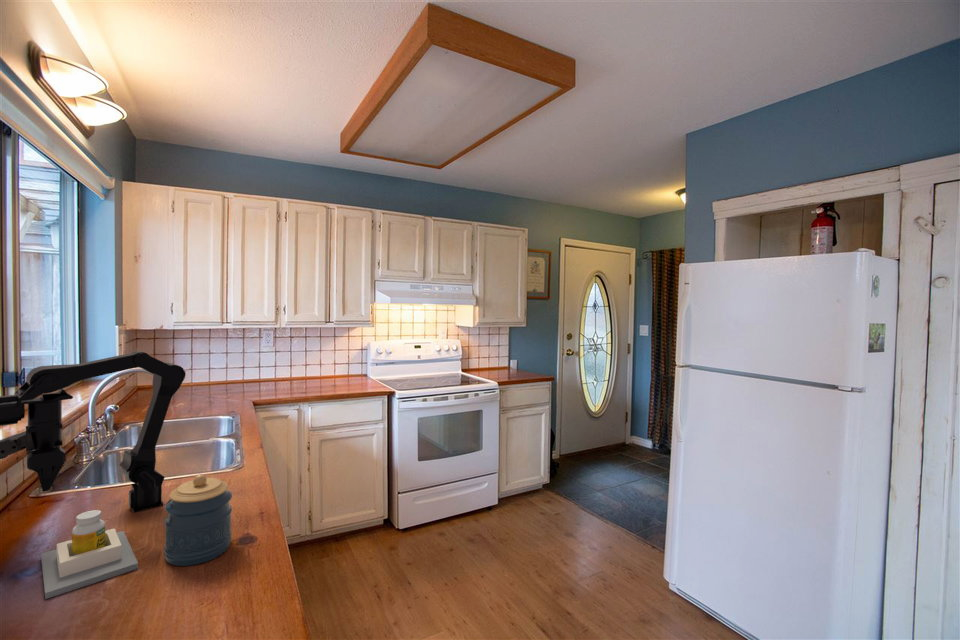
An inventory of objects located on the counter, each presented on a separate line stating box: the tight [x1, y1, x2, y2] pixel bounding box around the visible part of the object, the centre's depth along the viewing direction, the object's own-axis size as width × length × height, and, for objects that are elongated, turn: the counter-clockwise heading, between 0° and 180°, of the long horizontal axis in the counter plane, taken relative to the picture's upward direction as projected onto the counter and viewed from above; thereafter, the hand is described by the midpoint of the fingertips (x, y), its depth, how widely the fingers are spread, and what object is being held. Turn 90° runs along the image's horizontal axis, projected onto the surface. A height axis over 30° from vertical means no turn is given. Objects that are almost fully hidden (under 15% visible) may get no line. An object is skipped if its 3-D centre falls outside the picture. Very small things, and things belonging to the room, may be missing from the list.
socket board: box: [40, 528, 139, 600], centre depth 94 cm, size 14×18×4 cm
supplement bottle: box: [71, 509, 106, 556], centre depth 94 cm, size 5×5×10 cm
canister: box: [163, 474, 233, 567], centre depth 100 cm, size 13×13×18 cm
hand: (45, 484), depth 104 cm, fingers open, 9 cm apart
